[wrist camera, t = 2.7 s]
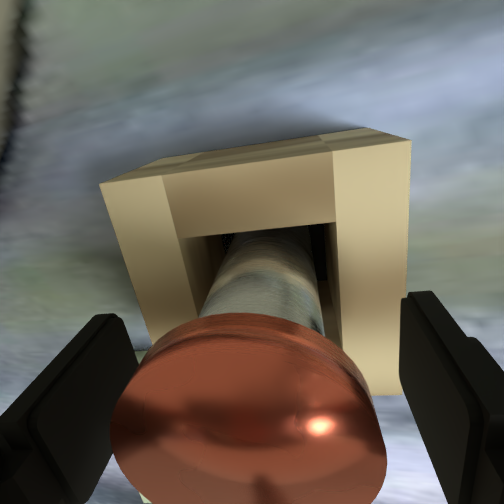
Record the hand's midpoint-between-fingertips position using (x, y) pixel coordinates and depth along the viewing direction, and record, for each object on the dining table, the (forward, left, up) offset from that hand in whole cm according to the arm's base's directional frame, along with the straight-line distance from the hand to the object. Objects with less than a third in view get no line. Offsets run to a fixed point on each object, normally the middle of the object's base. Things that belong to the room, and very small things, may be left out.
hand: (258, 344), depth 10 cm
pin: (0, 0, -9) cm, 9 cm away
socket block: (0, 0, -9) cm, 9 cm away
